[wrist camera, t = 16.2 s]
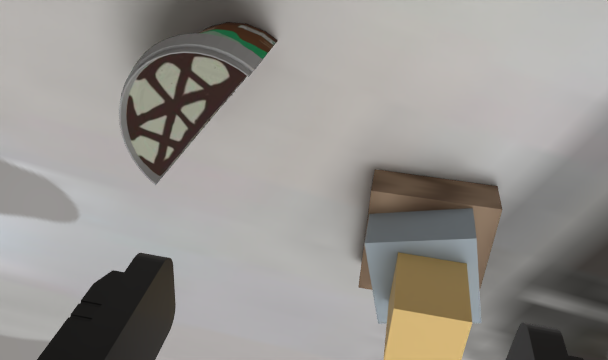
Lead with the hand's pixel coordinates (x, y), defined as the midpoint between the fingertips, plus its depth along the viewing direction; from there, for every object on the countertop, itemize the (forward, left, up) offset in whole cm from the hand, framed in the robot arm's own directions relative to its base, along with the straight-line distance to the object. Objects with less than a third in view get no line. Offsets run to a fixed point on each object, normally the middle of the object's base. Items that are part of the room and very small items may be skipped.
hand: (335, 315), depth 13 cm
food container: (-14, -6, -32) cm, 35 cm away
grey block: (+5, -19, -28) cm, 34 cm away
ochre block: (+5, -19, -24) cm, 31 cm away
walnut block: (+5, -19, -32) cm, 38 cm away
